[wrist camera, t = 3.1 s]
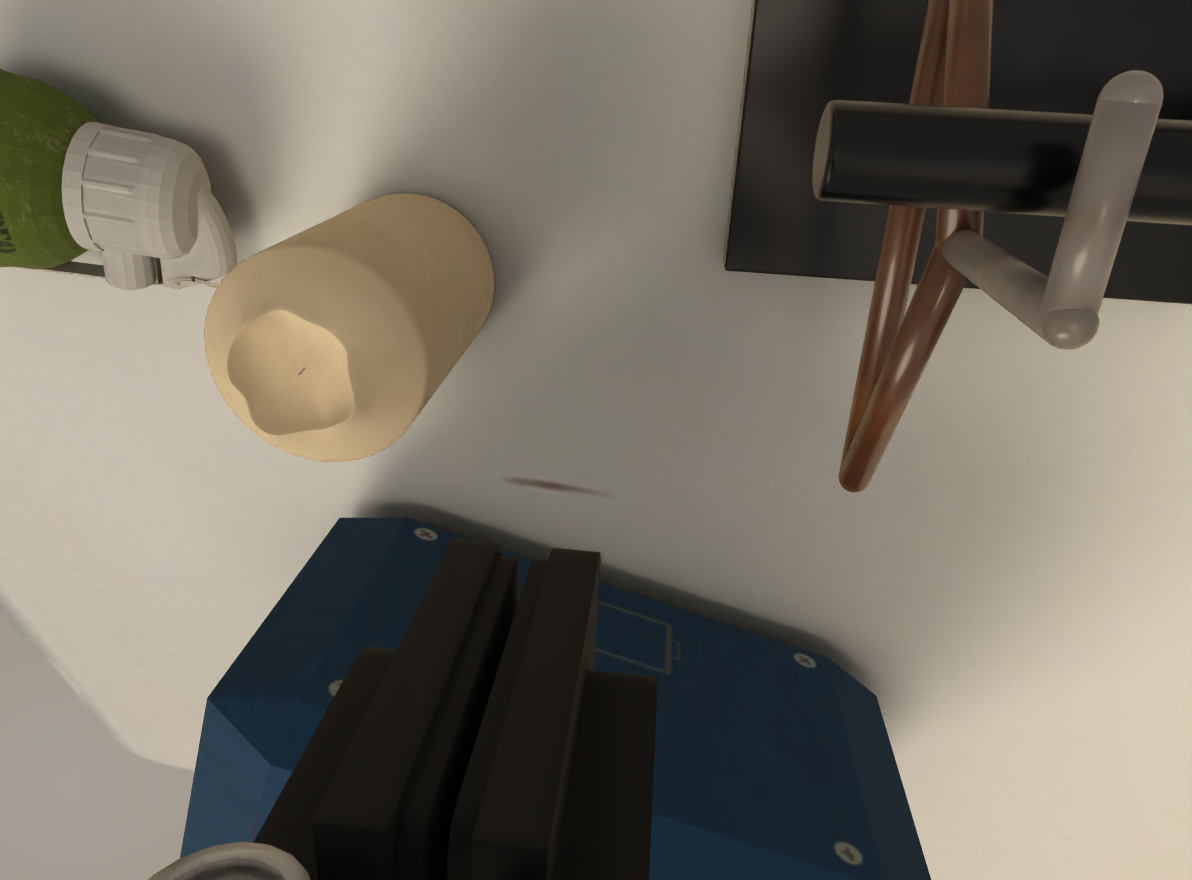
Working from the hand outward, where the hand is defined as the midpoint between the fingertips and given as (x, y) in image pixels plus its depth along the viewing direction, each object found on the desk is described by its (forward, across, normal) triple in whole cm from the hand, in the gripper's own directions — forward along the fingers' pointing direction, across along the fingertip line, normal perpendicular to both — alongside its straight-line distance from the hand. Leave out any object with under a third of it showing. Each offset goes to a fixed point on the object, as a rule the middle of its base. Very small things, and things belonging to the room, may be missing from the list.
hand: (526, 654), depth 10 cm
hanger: (+10, -6, -4) cm, 13 cm away
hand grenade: (+16, +22, -3) cm, 28 cm away
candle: (+20, +7, +1) cm, 21 cm away
